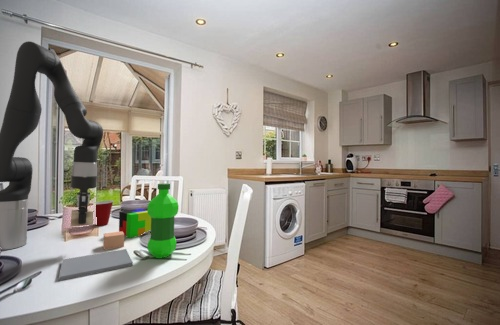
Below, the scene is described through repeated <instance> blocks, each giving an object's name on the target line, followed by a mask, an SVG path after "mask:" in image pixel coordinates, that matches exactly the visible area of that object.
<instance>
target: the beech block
mask: <svg viewBox="0 0 500 325" xmlns="http://www.w3.org/2000/svg"><path fill="white" fill-rule="evenodd" d="M78 210H79V209H72V210H71V213H70V214H71V215H70V227H82V226H92V225H93V226H94V224H93V223H94V219H93V212H94V211H93V209H91V208H87V210H88V211H87V213H86V223H85V224H79V223H78V219H79V212H78Z"/></svg>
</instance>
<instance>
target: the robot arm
mask: <svg viewBox="0 0 500 325" xmlns="http://www.w3.org/2000/svg"><path fill="white" fill-rule="evenodd" d="M38 73H39V74H43V75H44V76H45V77H47V78H48V79H49V81H51V83H52V85H53V87H54V88H53V96H54V100H55V102H56V104H57V106H58V107H59V109H60V111H61V112H62V113H63V115H64V117H65V121H66V125H67V127H68V130H69V132H70V133H71V135H72V136H74V137H76V138H77V139H82V140H83V141H82V144H81V145H77V146H75V148H74V150H73V162H72V169H71V182H70V183H71V184H70V187H71V188H72V189H76V190H79V192H76V199H77V201H76V202H77V203H76V207H77V210H78V212H79V219H78V223H79V224H85V223H86V213H87V211H88V210H87V209H88V207H89V206H90V205H89V203H90V199H91V193H90V192H88V191H89V189H95V188H97V183H98V152H99V150H100V146H101V143H102V140H103V137H104V129H103V126H102V125H101V124H100V123H99V122H97V121H94V120H91V119H90V120H89V119H87V118H86V116H87V113H88V112H87V108H86V106H85V105H84V103H83V102H82V100H81V99H80V97H79V95H77V93H76V90H74V87H73V86H72V83H71V81H70V79H69V77H68V75H67V72H66V69H65V67H64V65H63V63H62V61H61V59H60V57H59V55H57V54H56V52H53V51H51V50H50V49H48V48H46V47H44V46H42V45H40V44H38V43H36V42H34V41H25V42H23V43H22V44H21V45H20V46H19V48H18V49H17V54H16V58H15V65H14V73H13V80H12V85H11V89H10V94H9V98H8V102H7V104H6V108H5V111H4V115H3V120H2V124H1V128H0V183H8V185H7V186H6V187H4V189H1V190H0V247H1V248H2V249H1V250H0V251H5V250H12V249H17V248H20V247H23V246H25V245H27V239H28V238H27V237H28V212H29V211H28V210H29V209H28V208H29V207H28V206H29V196H30V193H31V191H32V190H31V189H32V180H33V170H34V169H33V164H32V162H31V160H30V159H29V158H26V157H19V156H18V157H17V156H14V155H15V153H16V150H17V148H18V147H19V145H20V144H21V143H22V142H23V141H25V140H26V139H27V138H28V137H29V136H30V135H31V134H32V133H33V132H34V131H36V130H37V127H38V125H39V123H40V119H41V115H42V109H43V108H42V104H41V101H40V98H39V96H38V92H37V89H36V79H37V74H38Z"/></svg>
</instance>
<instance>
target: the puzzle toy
mask: <svg viewBox="0 0 500 325" xmlns="http://www.w3.org/2000/svg"><path fill="white" fill-rule="evenodd" d="M118 215H119V217H118V218H119V220H118V232H120V231H123V233H124V237H126V236H127V238H130V239H132V238H131V237H133V238H136V237H135V236H137V237H140V235H141V234H143V233H144V232H147V231H149V230H151V217H150V216H149V215H148V211H147V210H146V209H143V208H137V209H129V210H123V211H119V214H118ZM141 236H142V235H141Z"/></svg>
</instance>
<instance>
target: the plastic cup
mask: <svg viewBox="0 0 500 325" xmlns="http://www.w3.org/2000/svg"><path fill="white" fill-rule="evenodd" d="M94 202H95V203H96V217H97V225H98V226H97V227H103V226H107V225H109V221H110V217H111V213H112V212H111V211H112V207H113V204H114V200H101V201H94Z"/></svg>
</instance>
